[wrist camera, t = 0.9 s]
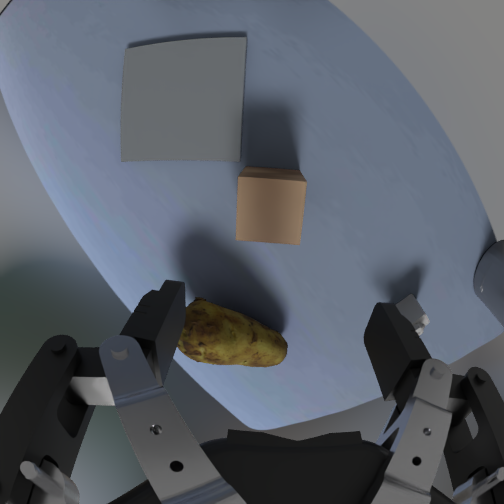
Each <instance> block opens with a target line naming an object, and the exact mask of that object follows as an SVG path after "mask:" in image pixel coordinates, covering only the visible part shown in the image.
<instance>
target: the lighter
mask: <svg viewBox="0 0 504 504" xmlns="http://www.w3.org/2000/svg"><path fill="white" fill-rule="evenodd" d="M396 307H397V308H398V310H399V312H400V313H401V315H403V316H405V317H406V318H407V319H408V320H409V321H410V322H411V323H412V325H413V326H414V328H415V330H416V332H417V333H418V335H421V334H422V333H423V330H424V327H425V326H426V325H427V324H429V322H430V321H429V319H428V317H427V315H426V314H425V312H424V311H423V309H422V307H421V306H420V304H419V303H418V301H417V300H416V298H415V297H414V296H413V294H410V295H408V296H407V297H406V298H404V299H403V300H401V301H400V302H399V303H397V304H396Z"/></svg>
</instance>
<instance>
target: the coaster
mask: <svg viewBox="0 0 504 504" xmlns="http://www.w3.org/2000/svg"><path fill="white" fill-rule="evenodd" d="M246 53H247V37H223V38H202V39H190V40H180V41H171V42H163V43H156V44H150V45H144V46H139V47H133V48H129V49H125V56H124V66H123V79H122V97H121V162H126V161H157V160H201V161H233V162H240V161H241V143H242V123H243V104H244V86H245V69H246Z"/></svg>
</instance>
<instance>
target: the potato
mask: <svg viewBox="0 0 504 504" xmlns="http://www.w3.org/2000/svg"><path fill="white" fill-rule="evenodd" d="M195 298H196V299H195V300H194V302H192V303H190V304H189V305H188V306H187V307H186V317H185V324H184V328H183V331H182V333H181V336H180V339H179V342H178V345H177V347H178V348H179V350H180V351H181V352H182V353H184V354H185V355H186V356H187V357H189V358H190V359H193V360H195V361H197V362H203V363H209V364H213V365H214V364H217V365H235V364H237V365H244V366H250V367H269V366H274V365H278V364H280V363H281V362H282V361H283V360H284V358H285V357H286V354H287V348H288V345H287V342H286V341H285V339H284V338H283V337H282V335H281V334H280V333H278V332H277V331H275V330H273V329H270V328H268V327H267V326H266V325H263V324H261V323H259V322H258V321H256V320H254V319H252V318H250V317H248V316H246V315H244V314H242V313H239V312H236V311H233V310H230V309H227V308H224V307H221V306H219V305H216V304H213V303H210V302H207V301H206V299H204V298H200V297H195Z"/></svg>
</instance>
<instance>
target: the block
mask: <svg viewBox="0 0 504 504" xmlns="http://www.w3.org/2000/svg"><path fill="white" fill-rule="evenodd" d="M306 185H307V181H306V180H305V178H304V176H303V175H302V173H301V172H300V170H290V169H279V168H265V167H250V166H246V167H245V168H244V169H243V171H242V172H241V173H240V175H239V176H238V192H237V219H236V240H242V241H255V242H268V243H281V244H293V245H300V239H301V230H302V222H303V213H304V204H305V195H306Z"/></svg>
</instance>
